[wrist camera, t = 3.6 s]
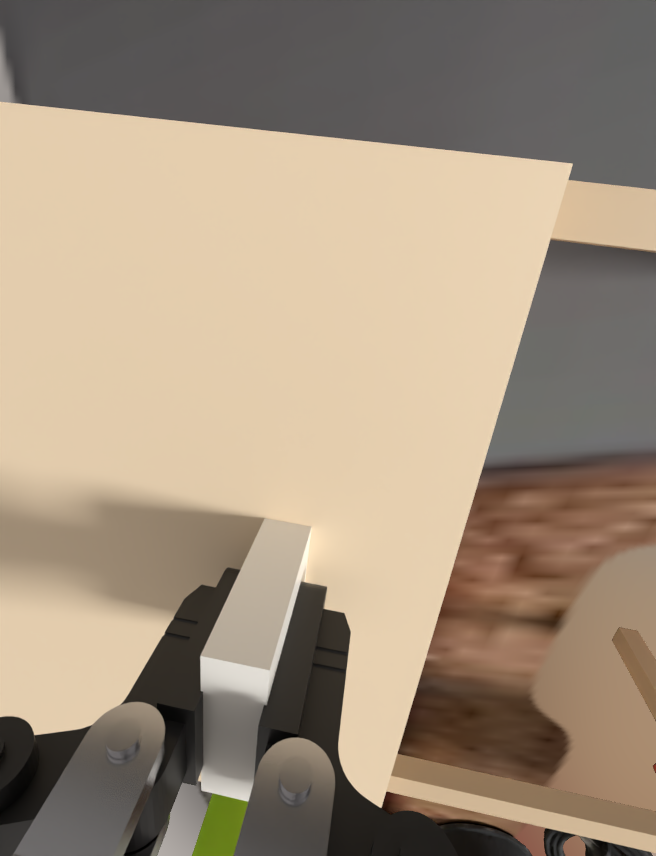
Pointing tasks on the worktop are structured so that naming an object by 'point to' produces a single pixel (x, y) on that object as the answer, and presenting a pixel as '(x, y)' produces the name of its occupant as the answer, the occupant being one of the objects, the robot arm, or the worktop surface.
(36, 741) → the robot arm
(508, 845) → the milk frother
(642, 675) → the open wooden box
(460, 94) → the worktop surface
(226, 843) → the soap dispenser
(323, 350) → the wooden box lid
